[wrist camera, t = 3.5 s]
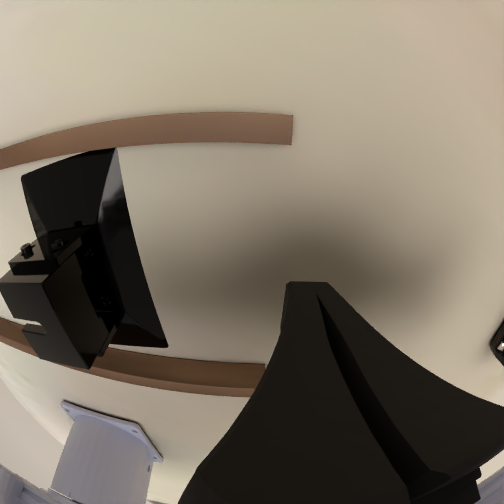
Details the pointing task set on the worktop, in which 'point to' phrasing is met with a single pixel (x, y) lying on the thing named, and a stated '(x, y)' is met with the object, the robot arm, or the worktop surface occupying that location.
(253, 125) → the loading bay
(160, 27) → the worktop surface
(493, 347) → the battery charger
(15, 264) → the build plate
